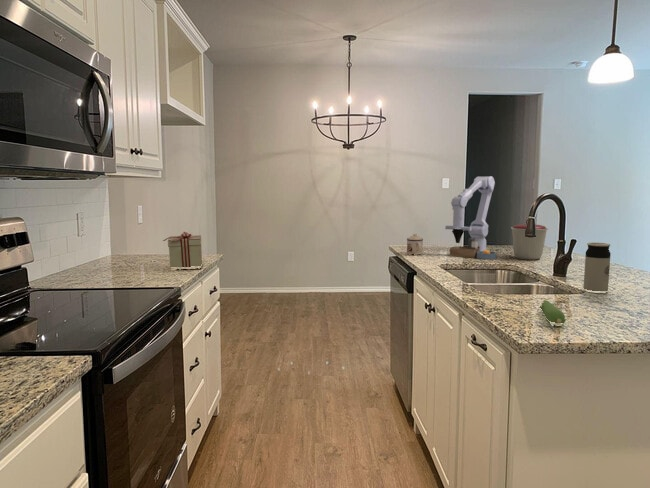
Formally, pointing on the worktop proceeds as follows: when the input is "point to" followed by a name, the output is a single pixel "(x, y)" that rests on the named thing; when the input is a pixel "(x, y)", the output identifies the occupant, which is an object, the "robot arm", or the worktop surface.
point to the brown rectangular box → (464, 251)
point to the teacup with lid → (414, 245)
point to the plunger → (472, 243)
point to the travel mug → (597, 267)
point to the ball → (486, 252)
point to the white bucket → (528, 242)
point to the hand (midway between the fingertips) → (457, 242)
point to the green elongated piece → (552, 312)
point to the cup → (486, 255)
